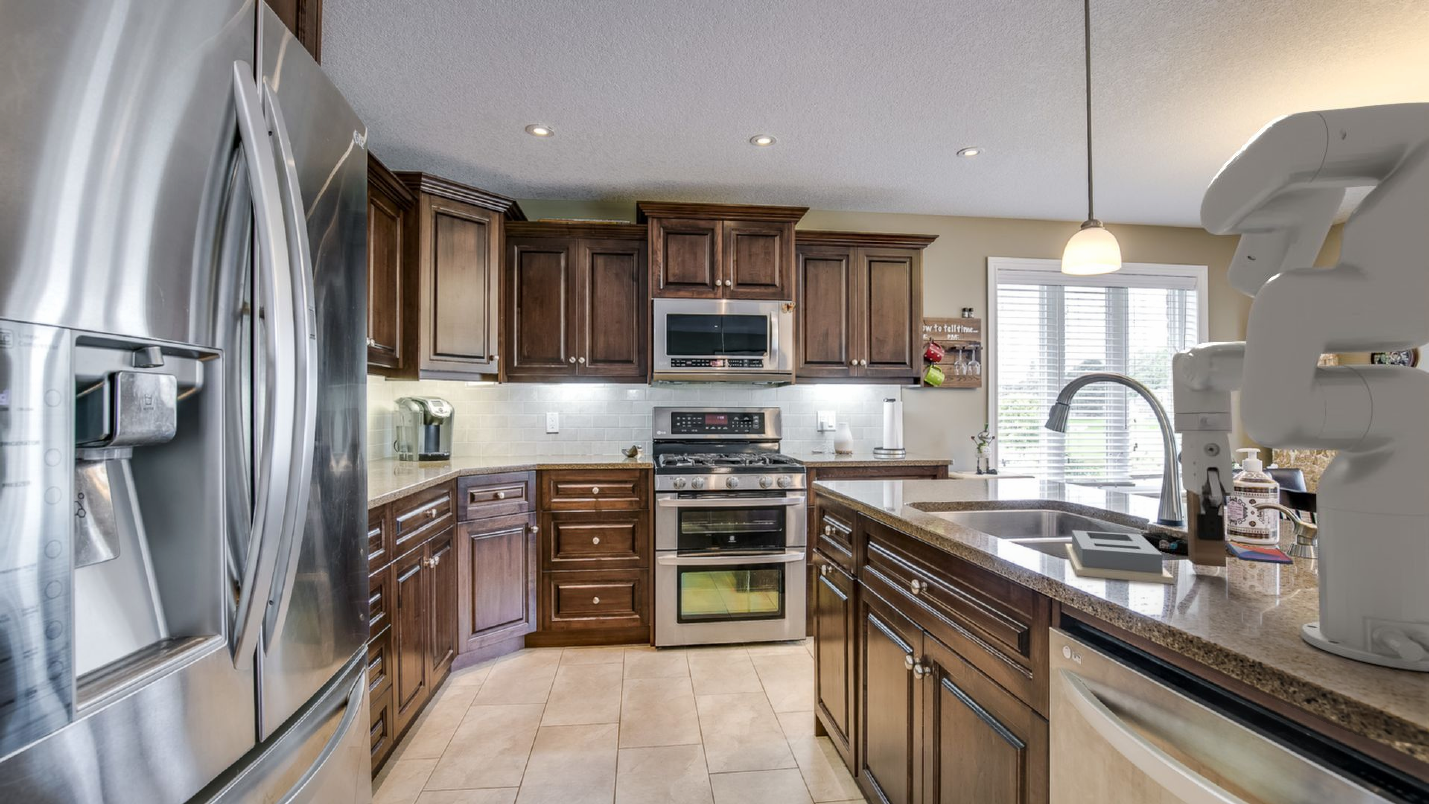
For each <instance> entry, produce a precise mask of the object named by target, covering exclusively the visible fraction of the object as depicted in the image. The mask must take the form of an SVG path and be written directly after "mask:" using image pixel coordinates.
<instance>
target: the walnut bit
mask: <svg viewBox="0 0 1429 804" xmlns="http://www.w3.org/2000/svg"><path fill="white" fill-rule="evenodd" d="M1202 490H1203V488H1202ZM1185 491H1186V492H1185V493H1186V494H1185V495H1186V496H1185V497H1186V519H1187V520H1186V521H1187V524H1186V525H1187V526H1186V527H1187V537H1188V538H1187V540H1188V554H1187V555H1188V556H1187V557H1188V561H1189V562H1191V563H1192V564H1193V565H1195V566H1204V567H1205V566H1207V567H1217V568H1219V567H1220V568H1227V554H1226V528H1225V527H1226V526H1225V525H1226V523H1225V521H1226V520H1225V499H1224V497H1225V495H1224V493H1223V492H1222V491H1221V493H1222V501H1221V502H1222V516H1223V540H1222V541H1211V540H1200V539H1199V538H1198V533H1197V514H1200V513H1199V503H1198V495H1196V494H1195V493H1193V491H1190V490H1187V489H1186V490H1185ZM1202 494H1203V495H1210V493H1209V491H1204V492H1202ZM1205 501H1206V499H1204V504H1205Z"/></svg>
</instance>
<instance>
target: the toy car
mask: <svg viewBox="0 0 1429 804" xmlns="http://www.w3.org/2000/svg"><path fill="white" fill-rule="evenodd" d="M1141 535H1142V536H1143V537H1144V538H1145V539H1146V540H1147V541H1148V542H1149V543H1150V544H1151V545H1152V546H1154V547H1155V548H1156V549H1157V550H1158V551H1164V552H1172V553H1180V554H1187V555H1188V536H1187V535H1183V536H1181V537H1177V536H1174V535H1171V534H1170V535H1169V534H1168V533H1167V532H1163V531H1160V532H1159V531H1158V532H1143V534H1141Z"/></svg>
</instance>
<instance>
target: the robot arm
mask: <svg viewBox="0 0 1429 804" xmlns="http://www.w3.org/2000/svg"><path fill="white" fill-rule="evenodd" d="M1360 187H1374V188H1373V189H1371V191H1370V192H1369V193H1368V194H1367V195H1365V197H1364V198H1363V199H1362V200H1360V202H1359V203H1358V204H1357V206H1356V207H1355V208H1354V209H1353V210H1352V212H1351V213H1350V215H1349V216H1348V217H1347V219H1346V221H1345V224H1344V226H1343V228H1342V232H1341V237H1340V238H1341V239H1340V250H1339V255H1338V259H1337V262H1336V264H1335V265H1334V266H1316V267H1315V266H1314V264H1315V262H1316V260H1317V258H1318V257H1319V256H1318V255H1319V253H1320V251H1321V249H1322V247H1323V245H1324V243H1325V241H1326V238H1327V236H1328V234H1329V232H1330V230H1331V227H1332V225H1333V223H1334V220H1335V219H1336V216H1337V214H1338V212H1339V209H1340V208H1341V205H1342V203H1343V200H1344V197H1345V196H1346V192H1347V188H1360ZM1199 211H1200V212H1199V214H1200V215H1199V216H1200V223H1201V225H1202V227H1203V229H1204V230H1206V231H1207V232H1208V233H1209V234H1212V235H1217V236H1227V235H1230V236H1231V235H1241V236H1240V239H1239V242H1238V245H1237V247H1236V250H1235V252H1234V254H1233V258H1232V261H1231V263H1230V265H1229V268H1228V270H1227V273H1226V280H1227V282H1228V284H1229V285H1230V286H1231V288H1232V289H1235V290H1236V291H1238V292H1239V293H1241V294H1242V295H1245V296H1247V297H1251V298H1253V301H1252V303H1251V305H1250V309H1249V314H1248V318H1247V319H1248V321H1247V326H1246V334H1245V335H1246V337H1245V340H1244V341H1223V342H1220V341H1219V342H1205V343H1201V344H1196V345H1195V346H1193V347H1191V348H1190V349H1186V350H1185V349H1184V350H1180V351H1178V352H1177V353H1175V354H1174V355H1173V357H1172V361H1171V363H1172V364H1171V368H1172V369H1171V370H1172V393H1173V394H1172V398H1173V399H1172V400H1173V427H1174V428H1173V431H1174V434H1181V444H1180V446H1181V447H1180V448H1181V450H1180V452H1181V458H1180V460H1181V463H1180V464H1181V481H1182V487H1183V489H1184V490H1185V491H1186V489H1187V490H1190V491H1193V493H1195V494H1196V495H1198V503H1199V513H1200V514H1197V533H1198V538H1199V539H1200V540H1211V541H1222V540H1223V516H1222V502H1221V501H1222V493H1221V491H1222V492H1223V493H1224V497H1231V496H1233V495H1234V494H1235V485H1234V484H1235V481H1234V473H1233V472H1234V471H1233V462H1232V452H1231V445H1230V439H1229V436H1228V434H1230V435H1231V434H1233V415H1232V392H1240V397H1239V417H1240V421H1241V425H1242V428H1243V430H1244V432H1245V434H1246V435H1247V437H1248V438H1249V439H1250V440H1251V441H1253V442H1254V443H1256V444H1257V445H1259V446H1261V447H1265V448H1269V449H1272V450H1286V451H1288V450H1289V451H1337V453H1335V456H1333V457H1332V459H1331V461H1330V462H1329V463H1328V464H1327V466H1326V467H1325V469H1324V470H1323V472H1322V473H1321V475H1320V477H1319V480H1318V482H1317V486H1316V500H1315V501H1316V540H1317V541H1316V543H1317V545H1316V546H1317V575H1318V577H1317V580H1318V581H1317V583H1318V616H1319V618H1318V619H1319V620H1318V621H1314V622H1308V623H1305V624H1303V625H1302V626H1301V627H1300V631H1301V632H1300V633H1301V638H1302V639H1303V640H1304V641H1305V642H1306V643H1308V644H1309V645H1312V646H1314V647H1316V648H1318V649H1320V650H1323V651H1326V652H1328V653H1331V654H1335V655H1339V656H1341V657H1344V658H1349V659H1350V660H1351V659H1352V660H1356V661H1359V662H1364V663H1369V664H1373V665H1379V666H1384V667H1389V668H1396V669H1402V670H1410V671H1417V672H1429V372H1428V371H1426V370H1423V369H1420V368H1417V367H1413V366H1407V365H1402V364H1401V365H1399V364H1389V363H1388V364H1386V363H1385V364H1384V363H1379V364H1378V363H1377V364H1376V363H1373V364H1372V363H1369V364H1365V363H1364V364H1362V363H1361V364H1334V365H1319V361H1320V358H1321V357H1322V356H1321V355H1330V354H1336V355H1337V354H1366V353H1367V354H1369V353H1371V354H1374V353H1394V352H1403V351H1409V350H1414V349H1417V348H1420V347H1424V346H1425V345H1427V344H1428V343H1429V102H1426V101H1425V102H1420V101H1419V102H1399V103H1397V102H1396V103H1385V104H1374V105H1365V106H1355V107H1348V108H1347V107H1346V108H1334V109H1324V110H1323V109H1320V110H1314V111H1313V110H1312V111H1301V112H1296V113H1291V114H1287V115H1282V116H1280V117H1277V118H1276V119H1273V120H1272V121H1270V122H1269V123H1268V124H1266V125H1264V127H1262V128H1261V129H1259V131H1258V132H1257V133H1255V135H1253V136H1252V137H1251V138H1250V139H1249V140H1248V142H1246V144H1244V145H1243V146H1242V148H1241V149H1239V151H1237V152H1236V153H1235V154H1234V155H1233V156H1232V157H1231V158H1230V159H1229V160H1228V161H1227V162H1226V163H1225V164H1224V165H1223V167H1222V168H1221V169H1220V170H1219V171H1218V173H1217V174H1216V175H1215V176H1214V177H1213V179H1212V180H1211V182H1210V183H1209V184H1208V187H1207V189H1206V191H1205V192H1204V195H1203V198H1202V201H1201V204H1200V210H1199ZM1202 488H1203V490H1202ZM1204 491H1209V493H1210V495H1203V494H1202V492H1204ZM1204 499H1206V501H1205V504H1204Z"/></svg>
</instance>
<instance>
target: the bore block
mask: <svg viewBox="0 0 1429 804" xmlns="http://www.w3.org/2000/svg"><path fill="white" fill-rule="evenodd" d="M1142 535H1143V534H1140V533H1139V534H1137V533H1123V532H1121V533H1120V532H1107V531H1088V530H1076V529H1075V530H1074V529H1071V541H1072V542H1071V543H1065V544H1064V545H1065V546H1064V547H1065V551H1066V553H1067V556H1068V558H1069V561H1070V562H1071V565H1072V568H1073V570H1074V572H1075V575H1076V576H1077V577H1078V576H1079V577H1080V576H1081V577H1088V578H1089V577H1092V578H1102V579H1103V578H1104V579H1113V580H1116V579H1117V580H1125V581H1137V582H1149V583H1160V584H1170V585H1172V584H1173V585H1174V583H1175V582H1174V580H1175V579H1174V576H1173V575H1172V574H1171V573H1170V572H1169V571H1168V570H1166V568H1165V567H1164V566H1163V553H1161V552H1160V550H1158V548H1155V547H1154V546H1152V545H1151V544H1150V543H1149V542H1148V541H1147V540H1146V539H1145V538H1144V537H1143V536H1142Z"/></svg>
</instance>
